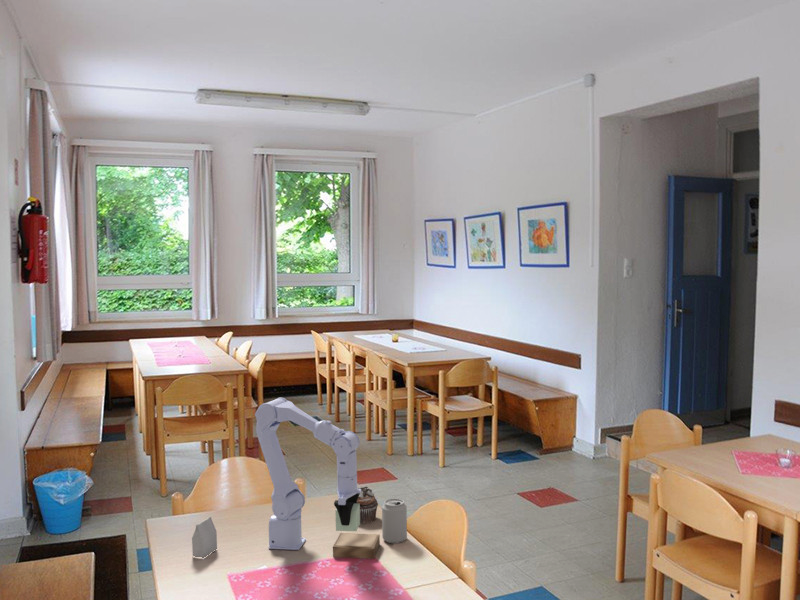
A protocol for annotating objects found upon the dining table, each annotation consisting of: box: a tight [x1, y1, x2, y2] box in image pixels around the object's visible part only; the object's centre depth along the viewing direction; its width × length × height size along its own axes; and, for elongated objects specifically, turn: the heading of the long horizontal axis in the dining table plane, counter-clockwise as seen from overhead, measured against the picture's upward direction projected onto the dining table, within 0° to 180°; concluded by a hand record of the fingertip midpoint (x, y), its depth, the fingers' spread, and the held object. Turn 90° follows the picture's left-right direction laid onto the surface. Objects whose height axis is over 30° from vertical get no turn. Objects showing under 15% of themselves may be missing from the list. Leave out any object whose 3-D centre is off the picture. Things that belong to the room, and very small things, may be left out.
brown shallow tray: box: [332, 532, 381, 560], centre depth 208 cm, size 12×10×3 cm
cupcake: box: [357, 486, 379, 524], centre depth 233 cm, size 10×10×10 cm
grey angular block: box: [191, 516, 218, 558], centre depth 207 cm, size 4×7×10 cm, turn 160°
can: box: [381, 498, 408, 544], centre depth 215 cm, size 8×8×12 cm
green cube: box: [335, 503, 361, 532], centre depth 205 cm, size 6×6×6 cm
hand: (348, 520), depth 205 cm, fingers closed on green cube, 6 cm apart
